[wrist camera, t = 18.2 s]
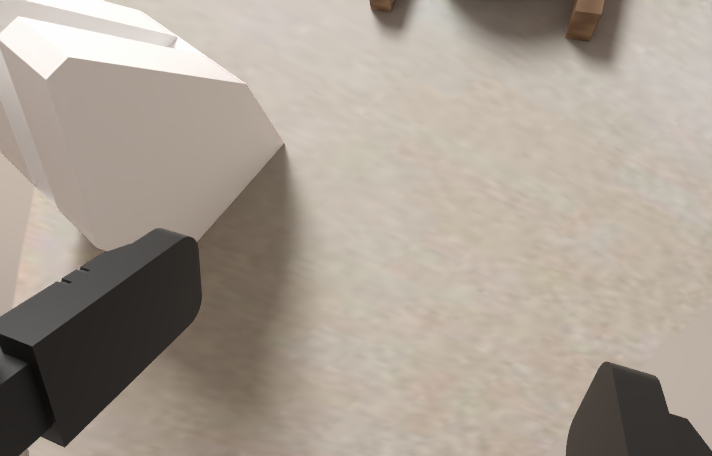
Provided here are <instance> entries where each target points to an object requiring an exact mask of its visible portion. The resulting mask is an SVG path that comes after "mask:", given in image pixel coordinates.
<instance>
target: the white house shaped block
mask: <svg viewBox="0 0 712 456" xmlns="http://www.w3.org/2000/svg"><path fill="white" fill-rule="evenodd" d="M283 144H284V142H283V140H282V139H281V137H280V136H279V134H278V133H277V131H276V129H275V128H274V126H273V125H272V123H271V122H270V120H269V119H268V117H267V115H266V114H265V112H264V111H263V109H262V108H261V106H260V105H259V103H258V102H257V100H256V98H255V97H254V95H253V94H252V92H251V91H250V89H249V88H248V86H247V85H246V84H245V83H244V82H243V81H241V80H240V79H238V78H237V77H235V76H234V75H232V74H231V73H230V72H228V71H227V70H225V69H224V68H222V67H221V66H220V65H218V64H217V63H215V62H214V61H212V60H211V59H209V58H208V57H207V56H205V55H204V54H202V53H201V52H199V51H198V50H197V49H195V48H194V47H192V46H191V45H189V44H188V43H186V42H185V41H184V40H182V39H181V38H179V37H178V36H176V35H175V34H174V33H172V32H171V31H169V30H168V29H166V28H165V27H163V26H162V25H161V24H159V23H158V22H156V21H155V20H153V19H152V18H151V17H149V16H148V15H146V14H145V13H143V12H142V11H139V10H135V9H132V8H128V7H124V6H121V5H117V4H113V3H110V2H106V1H103V0H0V151H1V153H2V154H3V155H4V156H5V157H6V158H7V159H8V160H9V161H10V162H11V163H12V164H13V165H14V166H15V167H16V168H17V169H18V170H19V171H20V172H21V173H22V174H23V175H24V176H25V177H26V178H27V179H28V180H29V181H30V182H31V183H32V184H33V185H34V186H35V187H36V188H37V189H38V190H39V191H40V192H41V193H42V194H43V195H44V196H45V197H46V198H47V199H48V200H49V201H50V202H51V203H52V204H53V205H54V206H55V207H56V208H57V209H58V210H59V211H60V212H61V213H62V214H63V215H64V216H65V217H66V218H67V219H68V220H69V221H70V222H71V223H72V224H73V225H74V226H75V227H76V228H77V229H78V230H79V231H80V232H81V233H82V234H83V235H84V236H85V237H86V238H87V239H88V240H89V241H90V242H91V243H92V244H93V245H94V246H95V247H96V248H99V249H102V250H104V251H110V250H113V249H116V248H119V247H122V246H125V245H127V244H132V243H133V242H135V241H136V240H138V239H140V238H141V237H143V236H144V235H146V234H147V233H149V232H151V231H152V230H154V229H157V228H163V229H166V230H170V231H173V232H177V233H180V234H183V235H187V236H190V237H193V238H194V239H195V240H196V242H198V241H199V239H200V238H201V237H202V236H203V235H204V234H205V233H206V231H207V230H208V229H209V228H210V227H211V226H212V225H213V224H214V222H215V221H216V220H217V219H218V218H219V217H220V216H221V214H222V213H223V212H224V211H225V210H226V209H227V208H228V207H229V205H230V204H231V203H232V202H233V201H234V200H235V199H236V197H237V196H238V195H239V194H240V193H241V192H242V191H243V190H244V188H245V187H246V186H247V185H248V184H249V183H250V182H251V180H252V179H253V178H254V177H255V176H256V175H257V174H258V173H259V171H260V170H261V169H262V168H263V167H264V166H265V165H266V163H267V162H268V161H269V160H270V159H271V158H272V157H273V156H274V154H275V153H276V152H277V151H278V150H279V149H280V148H281V146H282V145H283Z"/></svg>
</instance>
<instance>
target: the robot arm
mask: <svg viewBox="0 0 712 456" xmlns="http://www.w3.org/2000/svg"><path fill="white" fill-rule="evenodd" d="M201 300H202V292H201V278H200V265H199V251H198V244H197V242H196V240H195V239H194V238H193V237H190V236H187V235H183V234H180V233H177V232H173V231H170V230H166V229H163V228H157V229H154V230H152V231H151V232H149V233H147V234H146V235H144V236H143V237H141V238H140V239H138V240H136V241H135V242H133V243H132V244H127V245H125V246H122V247H119V248H116V249H113V250H110V251H107V252H104V253H102V254H100V255H99V256H97V257H96V258H94V259H92V260H91V261H89V262H88V263H86V264H84V265H83V266H81V268H80V270H75V271H73V272H71V273H70V274H68V275H67V276H65V277H63V278H62V281H61V282H55V283H54V284H52V285H51V286H49V287H47V288H46V289H44V290H42V291H41V292H39V293H38V294H36V295H34V296H33V297H31V298H30V299H28V300H26V301H25V302H23V303H22V304H20V305H18V306H17V307H15V308H13V309H12V310H10V311H9V312H7V313H5V314H4V315H2V316H1V317H0V456H29V451H28V447H29V446H30V445H32V444H33V443H34V442H35V441H36V440H37V439H38V438H39V437H40V436H41V437H43V438H45V439H47V440H49V441H52V442H54V443H56V444H58V445H60V446H63V447H66V446H67V445H68V444H69V443H70V442H71V441H72V440H73V439H74V438H75V437H76V436H77V435H78V434H79V433H80V432H81V431H82V430H83V429H84V428H85V427H86V426H87V425H88V424H89V423H90V422H91V421H92V420H93V419H94V418H95V417H96V416H97V415H98V414H99V413H100V412H101V411H102V410H103V409H104V408H105V407H106V406H107V405H108V404H110V403H111V402H112V401H113V400H114V399H115V398H116V397H117V396H118V395H119V394H120V393H121V392H122V391H123V390H124V389H125V388H126V387H127V386H128V385H129V384H130V383H131V382H132V381H133V380H134V379H135V378H136V377H137V376H138V375H139V374H140V373H141V372H142V371H143V370H144V369H145V368H146V367H147V366H148V365H149V364H150V363H151V362H152V361H153V360H154V359H155V358H156V357H157V356H158V355H159V354H161V353H162V352H163V351H164V350H165V349H166V348H167V347H168V346H169V345H170V344H171V343H172V342H173V341H174V340H175V339H176V338H177V337H178V336H179V335H180V334H181V333H182V332H183V331H184V330H185V329H186V328H187V327H188V326H189V325H190V324H191V323H192V322H193V320H194V319H195V317H196V315H197V313H198V311H199V308H200V305H201ZM566 456H712V451H711V449H710V448H709V447H708V446H707V444H706V443H705V442H704V440H703V439H702V438H701V436H700V435H699V434H698V432H697V431H696V430H695V429H694V427H693V426H692V425H691V423H690V422H689V421H688V419H686V418H682V417H679V416H676V415H672V414H670V413H669V411H668V407H667V404H666V401H665V397H664V394H663V391H662V388H661V385H660V382H659V380H658V378H657V377H656V376H654V375H651V374H647V373H644V372H641V371H637V370H634V369H630V368H627V367H624V366H620V365H617V364H614V363H610V362H604V363H603V364H602V365H601V366H600V367H599V369H598V371H597V373H596V375H595V377H594V379H593V381H592V383H591V385H590V387H589V389H588V391H587V393H586V395H585V397H584V399H583V401H582V403H581V405H580V407H579V409H578V411H577V413H576V415H575V417H574V419H573V421H572V424H571V426H570V430H569V434H568V439H567V446H566Z"/></svg>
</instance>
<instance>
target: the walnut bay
mask: <svg viewBox="0 0 712 456" xmlns="http://www.w3.org/2000/svg"><path fill="white" fill-rule="evenodd" d="M604 1H605V0H574V3H573V7H572V11H571V15H570V19H569V24H568V28H567V32H566V36H565V38H571V39H578V40H584V41H589V40H590V38H591V36H592V34H593V32H594V30H595V27H596V25H597V23H598V21H599V19H600V16H601V14H602V10H603V5H604ZM394 2H395V0H370V6H371V9H372V10H379V11H386V12H391V10H392V8H393V5H394Z"/></svg>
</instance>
